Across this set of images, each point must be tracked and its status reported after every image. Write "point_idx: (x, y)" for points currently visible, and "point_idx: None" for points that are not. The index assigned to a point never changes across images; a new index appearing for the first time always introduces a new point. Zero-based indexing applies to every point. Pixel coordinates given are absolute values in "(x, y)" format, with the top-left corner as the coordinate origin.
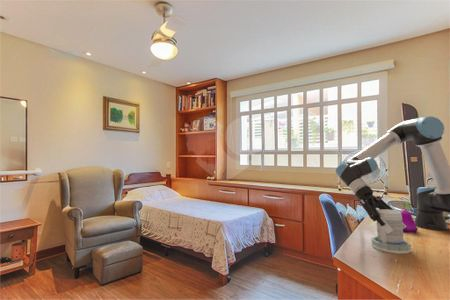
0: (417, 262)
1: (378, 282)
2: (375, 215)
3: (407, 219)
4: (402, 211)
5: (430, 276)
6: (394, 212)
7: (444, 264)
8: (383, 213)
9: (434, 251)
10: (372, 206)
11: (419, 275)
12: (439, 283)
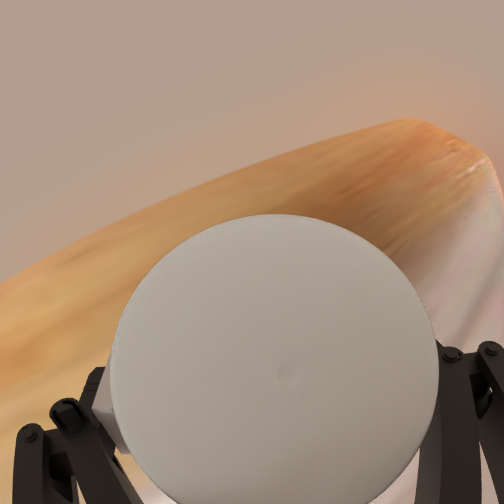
0: (313, 216)
1: (499, 191)
2: (493, 345)
3: None
4: None
5: (373, 152)
6: (292, 269)
7: (232, 174)
8: (430, 328)
9: (99, 263)
10: (472, 502)
11: (397, 166)
12: (384, 131)
